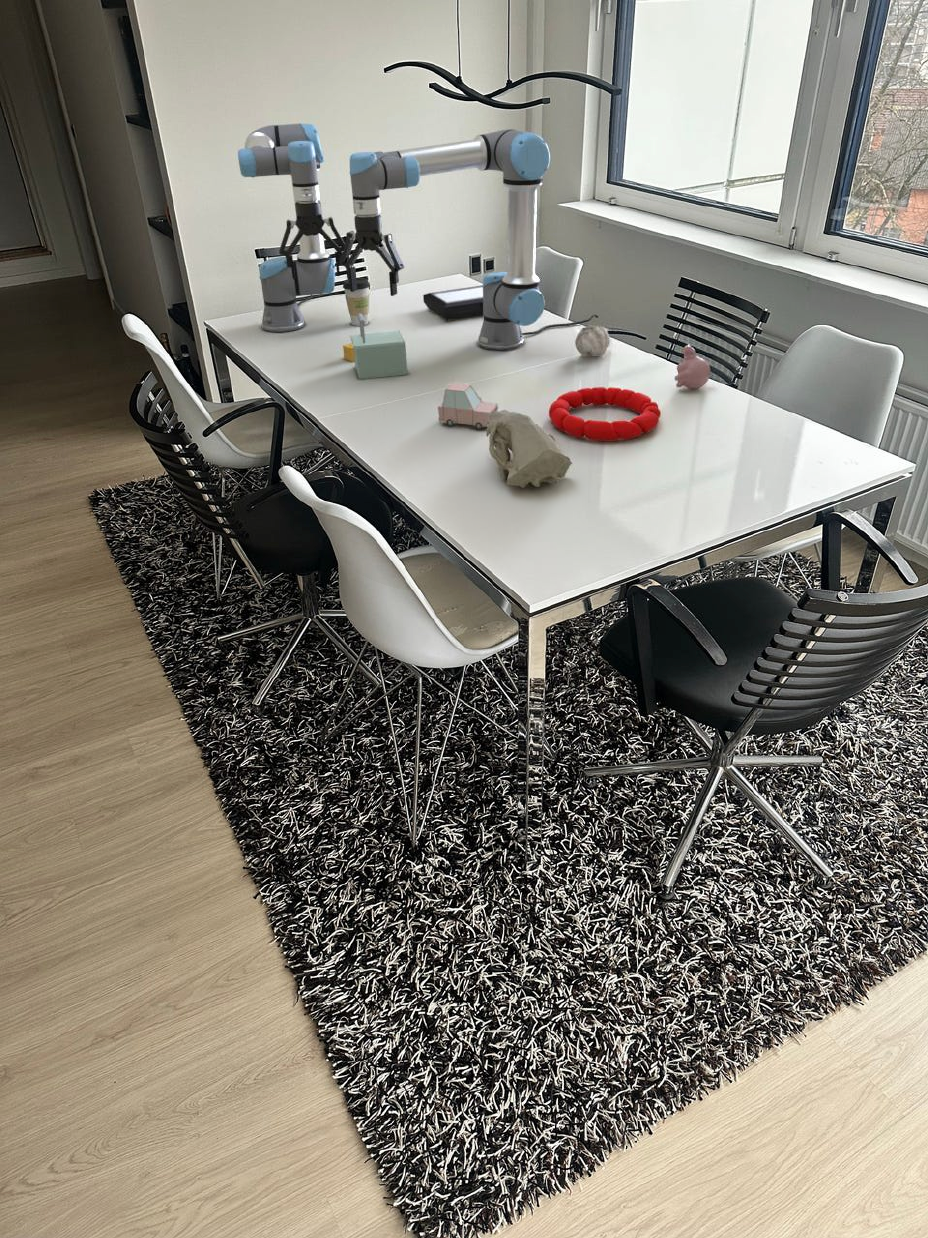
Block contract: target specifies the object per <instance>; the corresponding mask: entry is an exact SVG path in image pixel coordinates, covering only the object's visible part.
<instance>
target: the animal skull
mask: <svg viewBox="0 0 928 1238" xmlns="http://www.w3.org/2000/svg"><path fill="white" fill-rule="evenodd" d="M485 436H486V438H487V437H489V438H488V440H489V444H488V445H489V446H488V450H489V454H490V456H491V457H492V458H493V459H494V460H495V462H496V464H497V466H499V468H500V470H501V471H502V472H501V478H502V479H507V480H506V484H507V486H517V487H518V486H519V488H523V489H524V488H526V486H527V485H529V483H531V485H533V486H534V487H536V488H540V485H541V484H542V482H544V483H549V484H550V485H553V484H555V483H556V482H557V480H561V479H563V478H565V476H566V474H567V472H568V471H569V469H570V467H571V466H572V464H573V462H572V461H571V458H570V457H568V456H567V455H565V453H564V451H562V449H561V448H560V446H559V444H557V443H556V439H555V438H554V436H553V435H551V434H550V433H548V432H547V431H546V430H545V429H544V428H542V427H541V426H539V425H538V424H537V423H536V424H535V422H534V421H533V419H532V418H531V417H530V416H529V415H527V414H524V413H519V412H515V411H509V410H507V409H502V410H500V411H499V410H497V411H496V412H492V413H491V414H490V422H488V423H487V427H486V435H485ZM511 453H512V454H511ZM511 455H512V457H513V458H512V460H511ZM507 474H508V475H507Z"/></svg>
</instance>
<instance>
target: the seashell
mask: <svg viewBox="0 0 928 1238" xmlns="http://www.w3.org/2000/svg"><path fill="white" fill-rule="evenodd" d="M610 337H611V336H610V334H609V332H608V331H607V329H606V328H605V327H604V325H597V324H596V325H595V324H587V326H586V327H585V326H584V327H582V328H581V329H580V330H579V332H578V333H577V335H576V337H575V341H574V344H575V347H576V350H577V352H578V353H579V354H580V355H581V356H583V357H586V358H587V357H591V356H592V357H601V356H603V355H604V354H605V353H606V352H607V351H608V350H607V349H608V348H609V346H610V343H611V338H610Z"/></svg>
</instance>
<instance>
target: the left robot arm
mask: <svg viewBox="0 0 928 1238" xmlns="http://www.w3.org/2000/svg"><path fill="white" fill-rule="evenodd" d="M237 158H238V159H237V160H238V165H239V172H240V176H242V177H243V178H257V177H273V176H290V177H291V186H292V193H293V194H292V195H293V202H294V209H295V218H296V219H295V220H291V219H286V228H285V231H284V234H283V237H282V241H281V244H280V247H279V250H278V253H279V255H280V256H277V257H273V258H270V259H267V260H264V261H263V262H261V263H260V265H259V266H258V270H259V280H260V285H261V286H260V287H261V292H262V299H263V313H262V319H261V326H262V330H264V331H265V332H271V333H286V332H293V331H296V330H297V331H298V330H300V329H302V328H304V326H305V319H304V317H303V314H302V312H301V310H300V307H299V306H300V305H301V304H303V303H305V302H307V301H310V300H312V299H313V297H314V295H315V296H316V295H321V296H322V295H327V294H332V293H333V292H334V290H335V286H336V285H335V284H336V276H337V277H341V271H340V263H339V262H340V259H341V256H342V253H343V250H344V246H345V243H346V242H345V241H344V239H343V238H342V236H341V234H340V232H339V231H338V229H337V228H336V226H335V223H334V219H333V217H332V216H328V217H327V218H323V213H322V203H321V201H320V199H321V195H320V194H321V193H320V185H319V179H318V178H319V177H318V173H319V172H320V170H321V164H323V163H324V162H325V159H324V155H323V150H322V145H321V141H320V137H319V133H318V129H317V127H316V125H315V124H313V123H290V124H288V123H287V124H275V125H274V124H271V125H266V126H263V127H260V128H258V129H256V130H253V131H252V132H251V133H250V134H248V136H247V137H246V139H245V142H244V148H239V149H238V150H237ZM325 224H326V225H327V227H330V229H331V231H332V233H333V234H334V236H335V238H336V240H337V242H338V244H339V245H340V246H339V245H338V244H337V242H335V240H333V238H331V237H330V235H329V234H328V233H327V232H326V231H325V230H324V229H323V227H324V225H325ZM295 226H296V228H297V233H296V235H295V236H294V238H293V239H292V240H291V243H290V244H289V246H288V247H287V249H286V246H287V243H288V241H289V238H290V235H291V230H293V229H294V227H295ZM325 241H326V242H327V243H328V244H329V245H330V246H331V247H332V248H333V249H334V250H335V251H334V258H332V257H331V253H330V252H329V251H328V250H327V249H326V247H325ZM298 243H299V250H300V251H298V253H297V254H296V260H294V258H293V254H292V252H294V250H295V248H296V246H297V245H298ZM285 249H286V250H285ZM300 296H301V297H302V296H303V297H304V296H310V297H308V298H305V299H302V300H300V301H299V302H298V303H297V297H300Z"/></svg>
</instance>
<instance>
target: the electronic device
mask: <svg viewBox="0 0 928 1238" xmlns="http://www.w3.org/2000/svg"><path fill="white" fill-rule="evenodd" d="M482 286H483V284H482V285H476V286H469V287H462V288H455V289H448V290H441V291H440V290H439V291H435V292H428V293H425V294H422V297H423V304H425V306H426V307H427V309H428V310H429V311H430V312H432V313H434V314H435V315H436V316H439V317H440V318H441V319H444V320H445V321H447V322H448V321H455V320H461V319H466V318H475V317H480V316H483V287H482Z"/></svg>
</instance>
